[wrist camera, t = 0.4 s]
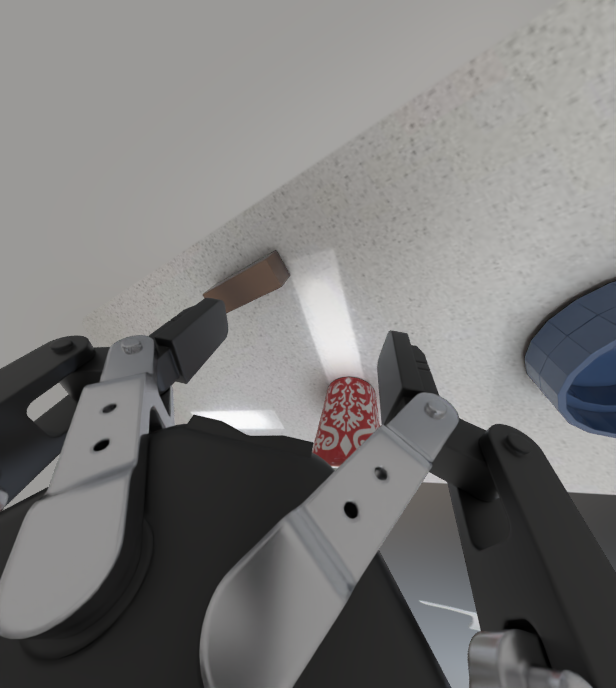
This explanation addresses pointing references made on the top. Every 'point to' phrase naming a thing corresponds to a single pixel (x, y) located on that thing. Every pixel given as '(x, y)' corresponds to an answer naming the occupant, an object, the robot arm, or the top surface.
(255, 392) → the top surface
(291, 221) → the top surface
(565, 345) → the bowl
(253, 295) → the bar
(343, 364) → the top surface
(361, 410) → the mug
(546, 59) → the top surface
